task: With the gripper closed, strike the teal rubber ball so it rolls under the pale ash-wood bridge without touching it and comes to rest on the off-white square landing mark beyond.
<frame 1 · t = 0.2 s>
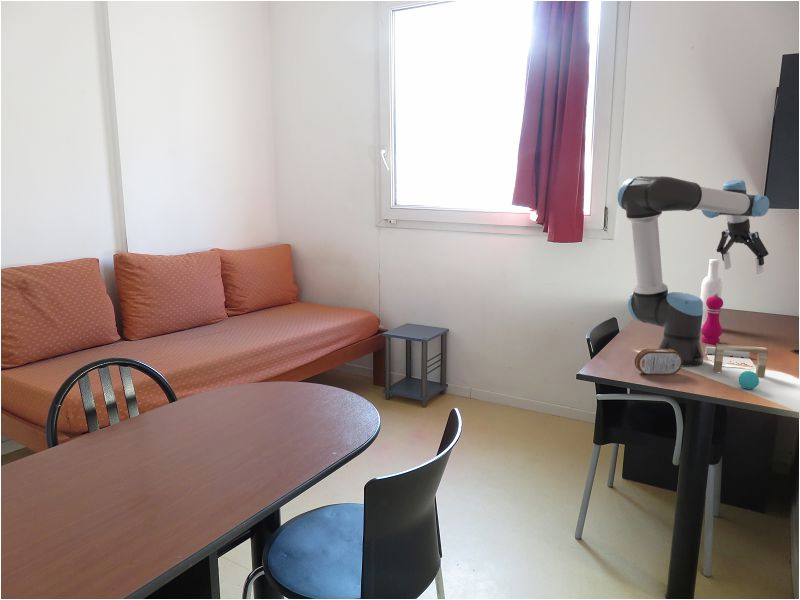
hand: (743, 270, 243), 28 cm above the table, tool tilted 20°, fingers open, 13 cm apart
pepper mill: (710, 342, 241), on the table
bridge: (738, 373, 200), on the table
tin: (657, 374, 199), on the table
ball: (748, 380, 185), on the table
landing mark: (731, 362, 213), on the table
bottle: (707, 328, 266), on the table
stopper wall: (726, 355, 222), on the table
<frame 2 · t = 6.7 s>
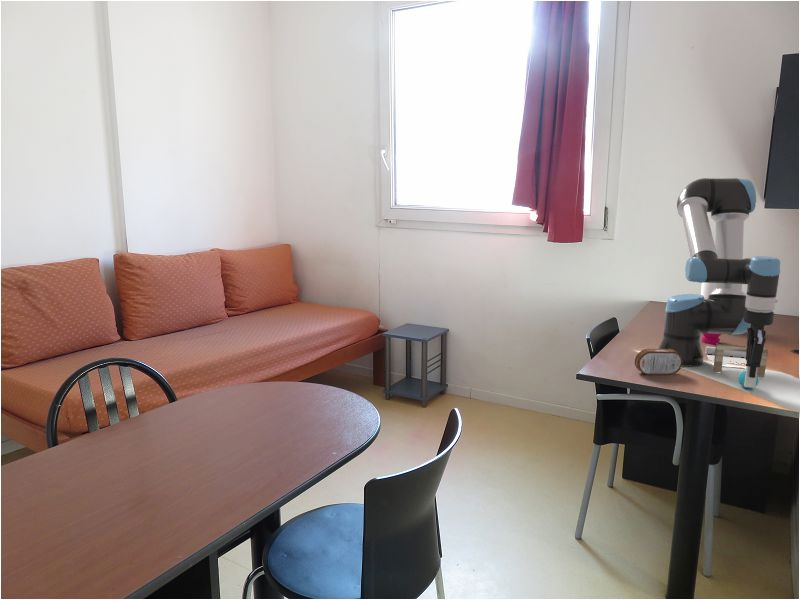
hand: (749, 386, 183), 2 cm above the table, tool pointing down, fingers closed
ball: (748, 379, 186), on the table, touching gripper
everything else where it was.
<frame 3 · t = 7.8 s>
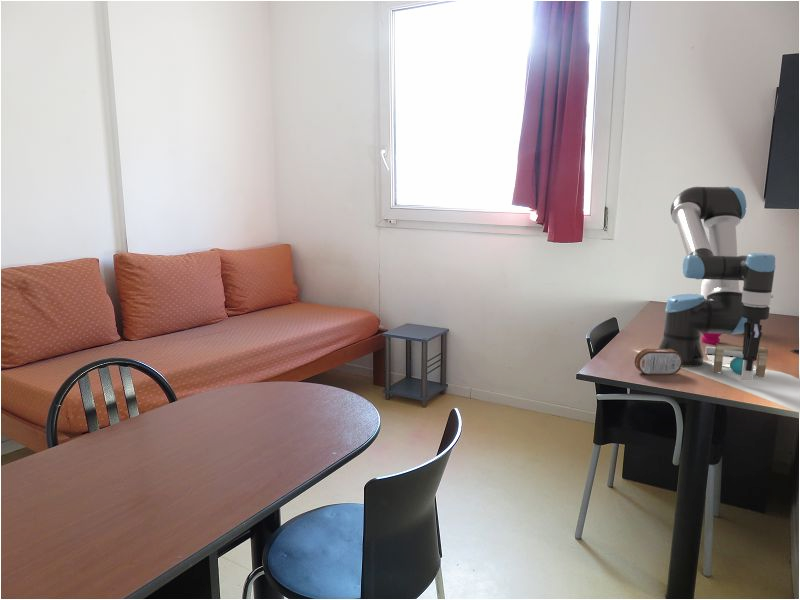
hand: (746, 379, 188), 2 cm above the table, tool pointing down, fingers closed
ball: (739, 365, 200), on the table
everything else where it was.
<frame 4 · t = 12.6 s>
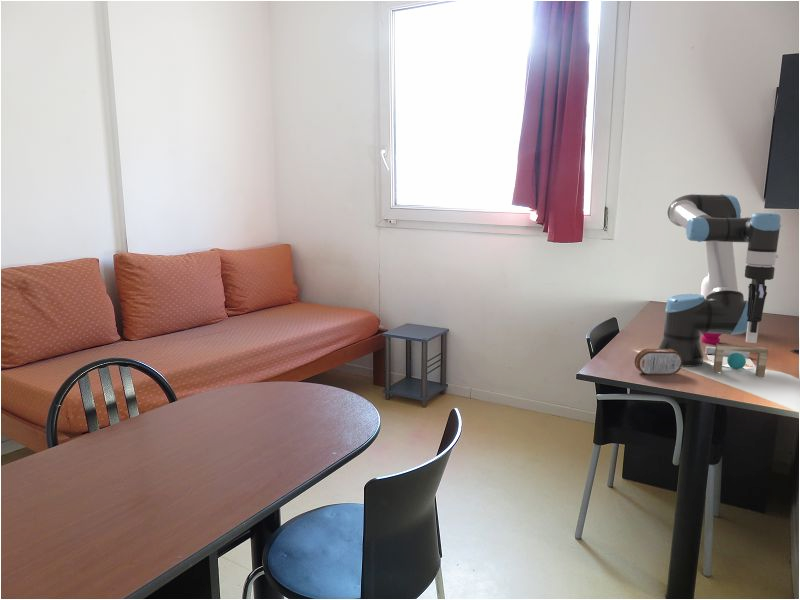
hand: (751, 342, 186), 14 cm above the table, tool pointing down, fingers closed
ball: (736, 360, 205), on the table
everything else where it was.
at the end: ball 8.0 cm from the landing mark (horizontally); ball never touched bridge; ball at rest at the end (0.0 cm/s) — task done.
